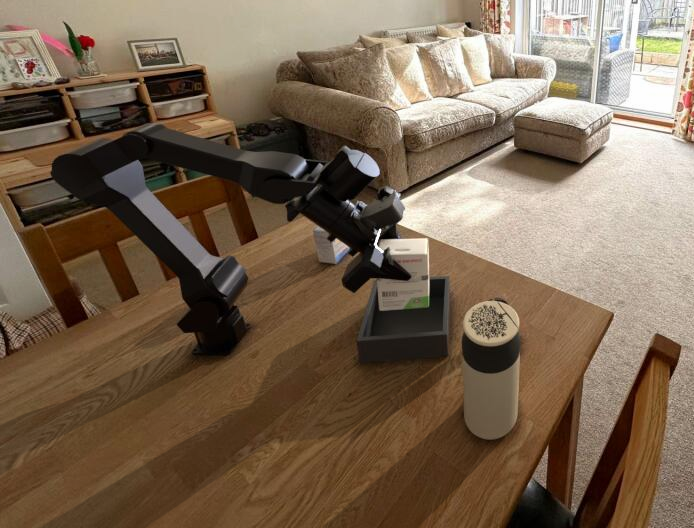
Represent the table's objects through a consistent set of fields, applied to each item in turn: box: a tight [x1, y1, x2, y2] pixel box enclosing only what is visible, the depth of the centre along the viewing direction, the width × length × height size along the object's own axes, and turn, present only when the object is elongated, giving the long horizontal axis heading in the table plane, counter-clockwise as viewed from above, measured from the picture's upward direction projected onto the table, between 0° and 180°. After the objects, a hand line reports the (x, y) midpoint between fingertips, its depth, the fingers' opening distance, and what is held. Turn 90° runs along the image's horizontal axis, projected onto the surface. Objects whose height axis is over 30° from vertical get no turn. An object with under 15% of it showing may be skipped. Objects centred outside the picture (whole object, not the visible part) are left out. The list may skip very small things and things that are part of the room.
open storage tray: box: [356, 275, 451, 364], centre depth 74 cm, size 15×15×5 cm
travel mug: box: [461, 300, 521, 440], centre depth 57 cm, size 8×8×18 cm
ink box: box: [376, 237, 430, 311], centre depth 70 cm, size 9×5×12 cm, turn 99°
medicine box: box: [312, 225, 350, 265], centre depth 93 cm, size 8×4×9 cm, turn 168°
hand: (411, 268), depth 70 cm, fingers closed on ink box, 5 cm apart
